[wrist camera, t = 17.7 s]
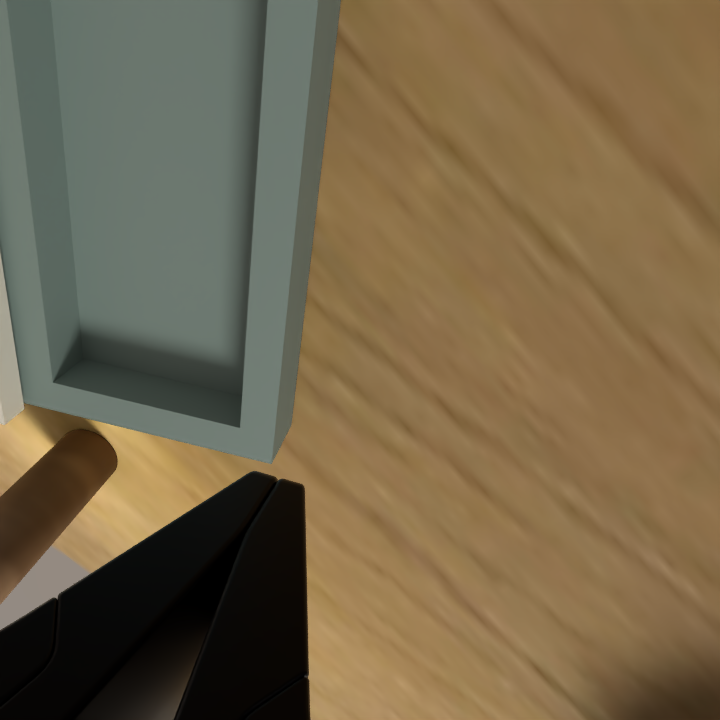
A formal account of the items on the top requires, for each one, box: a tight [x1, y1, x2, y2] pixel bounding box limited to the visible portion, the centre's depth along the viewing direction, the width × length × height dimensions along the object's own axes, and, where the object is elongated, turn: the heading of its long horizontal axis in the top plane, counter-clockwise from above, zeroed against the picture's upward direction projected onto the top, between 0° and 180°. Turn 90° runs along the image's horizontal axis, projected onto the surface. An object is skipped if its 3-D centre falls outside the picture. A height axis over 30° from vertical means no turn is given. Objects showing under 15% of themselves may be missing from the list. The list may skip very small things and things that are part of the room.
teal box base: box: [0, 0, 341, 464], centre depth 17 cm, size 13×20×2 cm, turn 171°
